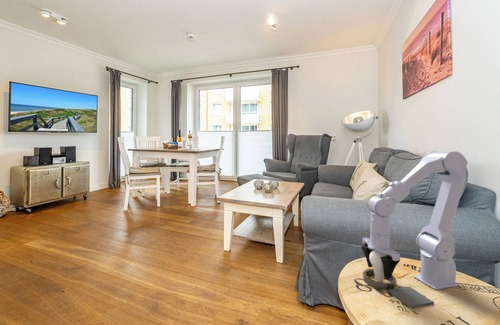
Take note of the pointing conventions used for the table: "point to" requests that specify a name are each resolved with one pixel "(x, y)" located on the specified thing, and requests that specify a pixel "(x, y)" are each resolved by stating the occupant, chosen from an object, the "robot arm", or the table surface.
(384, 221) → the robot arm
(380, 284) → the collar
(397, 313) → the table surface
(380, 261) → the lightbulb
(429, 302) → the mat
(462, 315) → the table surface
